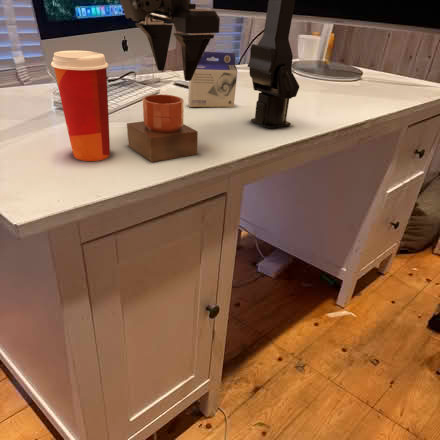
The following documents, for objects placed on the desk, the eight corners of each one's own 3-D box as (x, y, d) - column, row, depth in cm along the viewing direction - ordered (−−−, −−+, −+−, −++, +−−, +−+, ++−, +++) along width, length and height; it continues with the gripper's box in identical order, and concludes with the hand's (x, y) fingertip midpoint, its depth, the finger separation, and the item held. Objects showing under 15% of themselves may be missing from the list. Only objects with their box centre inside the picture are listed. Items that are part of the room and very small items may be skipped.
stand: (171, 139, 79) (171, 117, 77) (197, 154, 74) (197, 131, 71) (128, 146, 75) (126, 123, 73) (151, 162, 69) (150, 138, 67)
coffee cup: (96, 143, 75) (85, 48, 66) (126, 155, 71) (118, 56, 62) (55, 154, 70) (36, 52, 61) (85, 167, 66) (70, 60, 57)
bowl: (171, 119, 76) (170, 93, 73) (190, 130, 72) (190, 102, 69) (137, 123, 73) (135, 96, 70) (155, 134, 68) (154, 105, 66)
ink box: (189, 108, 99) (190, 52, 92) (187, 105, 101) (188, 51, 94) (235, 107, 102) (239, 53, 95) (232, 104, 104) (236, 52, 97)
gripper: (96, -43, 65) (108, 68, 75) (154, -41, 53) (159, 91, 63) (159, -39, 70) (162, 65, 80) (224, -36, 59) (219, 85, 68)
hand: (173, 75), depth 73 cm, fingers open, 9 cm apart
